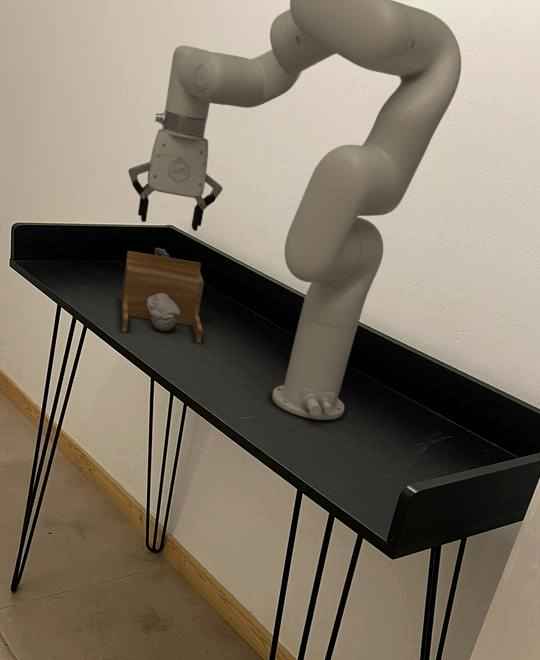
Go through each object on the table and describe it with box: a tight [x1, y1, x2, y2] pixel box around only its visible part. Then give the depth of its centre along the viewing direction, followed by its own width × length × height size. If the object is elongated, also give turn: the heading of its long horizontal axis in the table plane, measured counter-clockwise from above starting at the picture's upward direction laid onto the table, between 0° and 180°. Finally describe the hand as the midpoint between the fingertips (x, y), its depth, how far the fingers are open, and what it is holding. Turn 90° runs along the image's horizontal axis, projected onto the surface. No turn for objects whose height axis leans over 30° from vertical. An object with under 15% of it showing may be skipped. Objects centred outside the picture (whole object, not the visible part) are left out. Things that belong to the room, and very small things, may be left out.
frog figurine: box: [147, 293, 180, 332], centre depth 164 cm, size 6×7×7 cm
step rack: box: [120, 250, 205, 344], centre depth 168 cm, size 20×15×10 cm
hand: (168, 224), depth 157 cm, fingers open, 9 cm apart
